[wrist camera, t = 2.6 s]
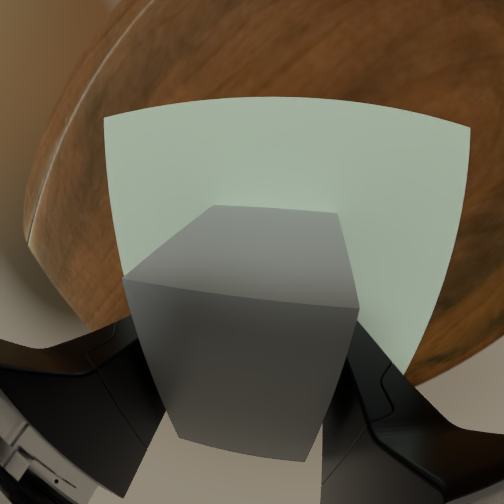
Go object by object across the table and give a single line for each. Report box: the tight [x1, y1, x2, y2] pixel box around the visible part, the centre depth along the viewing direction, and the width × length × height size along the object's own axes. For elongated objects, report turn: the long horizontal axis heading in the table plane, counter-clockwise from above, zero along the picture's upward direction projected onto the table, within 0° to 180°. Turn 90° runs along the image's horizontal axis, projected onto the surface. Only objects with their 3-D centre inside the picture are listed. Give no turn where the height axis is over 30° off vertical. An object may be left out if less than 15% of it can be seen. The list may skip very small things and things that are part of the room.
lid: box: [104, 97, 470, 462], centre depth 8 cm, size 13×13×7 cm
